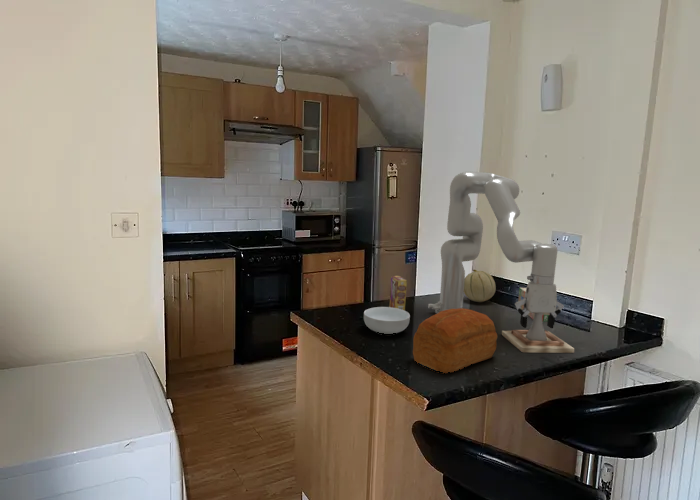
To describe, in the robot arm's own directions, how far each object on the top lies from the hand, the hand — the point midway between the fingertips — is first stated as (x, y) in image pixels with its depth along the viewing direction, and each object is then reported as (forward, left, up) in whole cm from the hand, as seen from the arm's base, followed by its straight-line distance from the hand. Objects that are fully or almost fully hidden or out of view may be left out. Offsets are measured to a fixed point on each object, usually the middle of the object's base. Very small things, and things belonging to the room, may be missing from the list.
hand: (536, 326), depth 170 cm
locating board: (0, 0, -6) cm, 6 cm away
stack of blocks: (+16, +36, -6) cm, 40 cm away
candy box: (-44, +34, -6) cm, 56 cm away
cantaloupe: (-2, +56, -6) cm, 56 cm away
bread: (-34, -15, -6) cm, 38 cm away
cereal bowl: (-52, +11, -6) cm, 53 cm away
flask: (0, 0, -5) cm, 5 cm away
